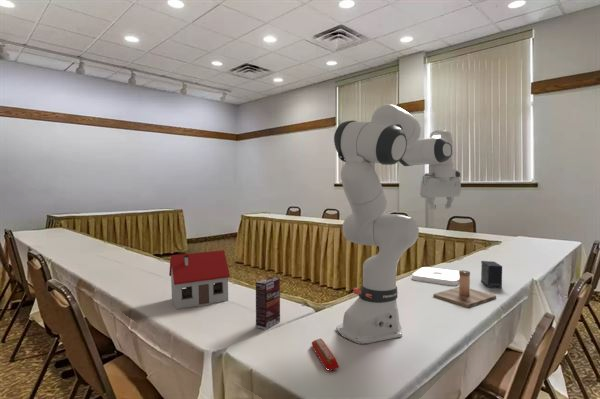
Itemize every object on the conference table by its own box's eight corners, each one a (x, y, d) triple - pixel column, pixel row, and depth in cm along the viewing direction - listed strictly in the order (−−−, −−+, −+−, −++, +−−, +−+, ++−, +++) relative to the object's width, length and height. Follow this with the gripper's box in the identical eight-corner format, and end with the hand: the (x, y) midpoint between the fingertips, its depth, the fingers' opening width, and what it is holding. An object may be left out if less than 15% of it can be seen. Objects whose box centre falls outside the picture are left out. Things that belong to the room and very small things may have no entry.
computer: (422, 271, 192) (422, 266, 192) (465, 276, 180) (465, 271, 179) (410, 280, 175) (410, 275, 174) (456, 287, 162) (456, 281, 162)
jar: (466, 297, 142) (466, 273, 142) (456, 294, 146) (457, 271, 146) (471, 295, 145) (472, 272, 144) (462, 292, 148) (462, 269, 148)
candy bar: (310, 346, 104) (310, 337, 103) (321, 345, 104) (321, 335, 104) (327, 374, 88) (326, 363, 88) (340, 372, 89) (340, 361, 89)
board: (468, 307, 133) (468, 304, 133) (433, 296, 147) (433, 294, 147) (496, 298, 144) (496, 295, 144) (461, 288, 157) (461, 286, 157)
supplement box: (266, 330, 115) (265, 284, 114) (255, 327, 118) (254, 282, 117) (281, 321, 122) (280, 278, 122) (270, 319, 125) (269, 276, 124)
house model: (226, 290, 161) (225, 247, 160) (231, 304, 142) (229, 254, 141) (170, 296, 153) (169, 251, 153) (167, 311, 134) (165, 259, 134)
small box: (503, 288, 158) (503, 265, 157) (487, 287, 159) (487, 265, 159) (494, 282, 168) (495, 261, 168) (480, 281, 169) (480, 260, 169)
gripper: (430, 172, 124) (430, 210, 124) (463, 173, 134) (463, 208, 135) (416, 173, 129) (416, 209, 129) (449, 173, 140) (449, 207, 140)
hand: (440, 208), depth 132 cm, fingers open, 8 cm apart
